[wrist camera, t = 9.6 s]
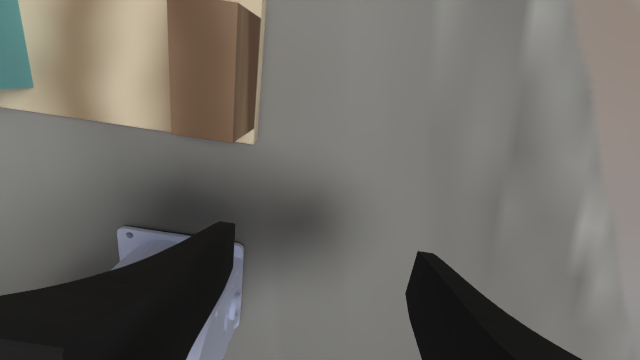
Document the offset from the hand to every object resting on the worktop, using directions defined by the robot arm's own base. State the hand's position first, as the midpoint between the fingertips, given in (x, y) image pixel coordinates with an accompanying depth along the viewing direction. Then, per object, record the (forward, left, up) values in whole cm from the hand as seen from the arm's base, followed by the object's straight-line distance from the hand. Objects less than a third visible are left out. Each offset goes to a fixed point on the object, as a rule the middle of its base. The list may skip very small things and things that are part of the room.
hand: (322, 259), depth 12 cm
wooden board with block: (+15, -6, -9) cm, 19 cm away
